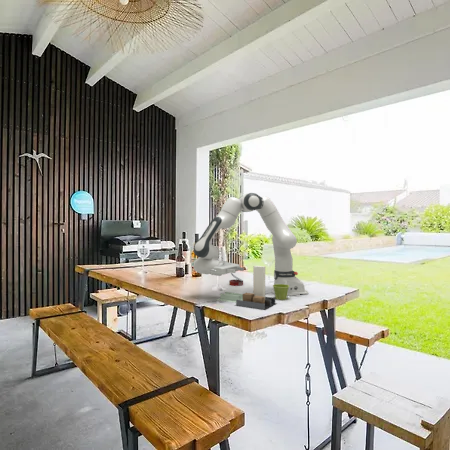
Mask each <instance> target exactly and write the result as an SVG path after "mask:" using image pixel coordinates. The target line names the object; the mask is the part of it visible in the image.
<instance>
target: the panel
mask: <svg viewBox="0 0 450 450" xmlns="http://www.w3.org/2000/svg"><path fill="white" fill-rule="evenodd" d="M252 268H253V273H252V275H253V280H252V281H253V283H252V284H253V285H252V286H253V287H252V289H253V292H252V293H253V294H254V296H262V297H266V266H264V265H254V266H253V267H252Z"/></svg>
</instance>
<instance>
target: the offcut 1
mask: <svg viewBox="0 0 450 450" xmlns="http://www.w3.org/2000/svg"><path fill="white" fill-rule="evenodd" d="M242 294H243V300H244V301H251V302H253V297H254V294H253V292H245V293H242Z"/></svg>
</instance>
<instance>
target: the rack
mask: <svg viewBox="0 0 450 450" xmlns="http://www.w3.org/2000/svg"><path fill="white" fill-rule="evenodd" d="M276 305H278V303H277V302H276V298H275V297H270V296H265V303H258V302H251V301H244V300H236V303H235V305H233V306H234V307H235V306H236V307H240V308H247V309H248V308H249V309H253V310H254V309H255V310H260V311H267V310H269V309H271V308H272V307H274V306H276Z"/></svg>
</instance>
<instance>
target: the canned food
mask: <svg viewBox="0 0 450 450" xmlns="http://www.w3.org/2000/svg"><path fill="white" fill-rule="evenodd" d="M230 275H231V276H232V277H233V278H235V279H230V280H229V286H231V287H241V286H244V280H243V279H241V278H239V277H237V275H235V274H234V273H230Z"/></svg>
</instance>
